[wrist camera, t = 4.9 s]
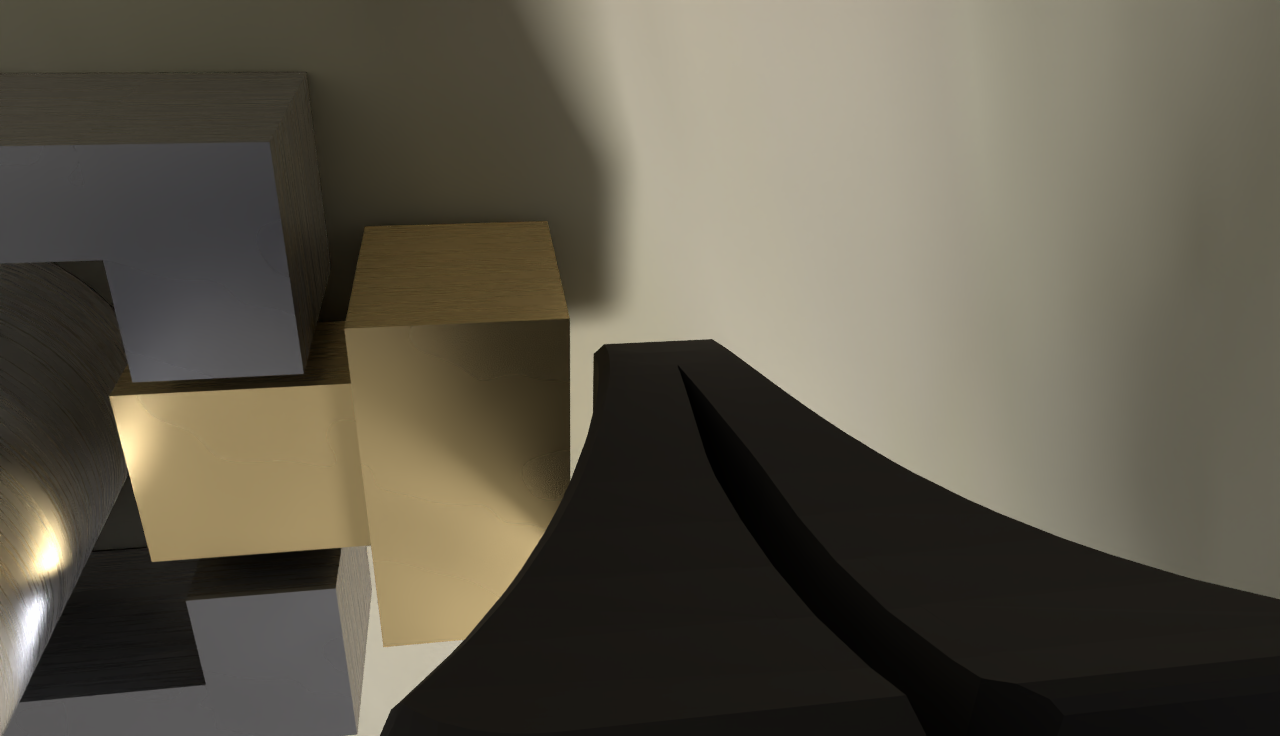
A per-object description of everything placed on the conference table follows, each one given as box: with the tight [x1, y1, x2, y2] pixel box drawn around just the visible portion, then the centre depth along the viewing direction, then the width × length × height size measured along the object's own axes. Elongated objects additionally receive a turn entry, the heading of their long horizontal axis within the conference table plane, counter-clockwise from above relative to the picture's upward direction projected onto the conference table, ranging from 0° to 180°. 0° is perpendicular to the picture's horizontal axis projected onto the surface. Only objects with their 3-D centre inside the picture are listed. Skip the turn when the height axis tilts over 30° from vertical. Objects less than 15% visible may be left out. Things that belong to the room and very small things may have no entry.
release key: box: [109, 221, 570, 647], centre depth 11 cm, size 4×4×2 cm
